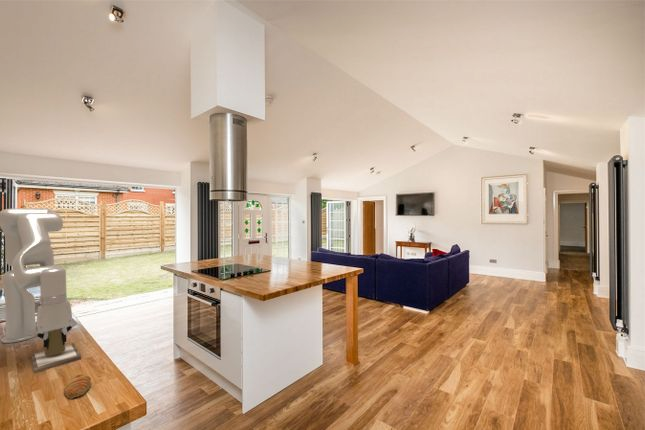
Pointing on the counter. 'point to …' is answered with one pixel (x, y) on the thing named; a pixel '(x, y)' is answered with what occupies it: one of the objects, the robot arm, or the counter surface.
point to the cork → (55, 343)
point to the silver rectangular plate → (54, 358)
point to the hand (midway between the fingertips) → (55, 346)
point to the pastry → (77, 386)
